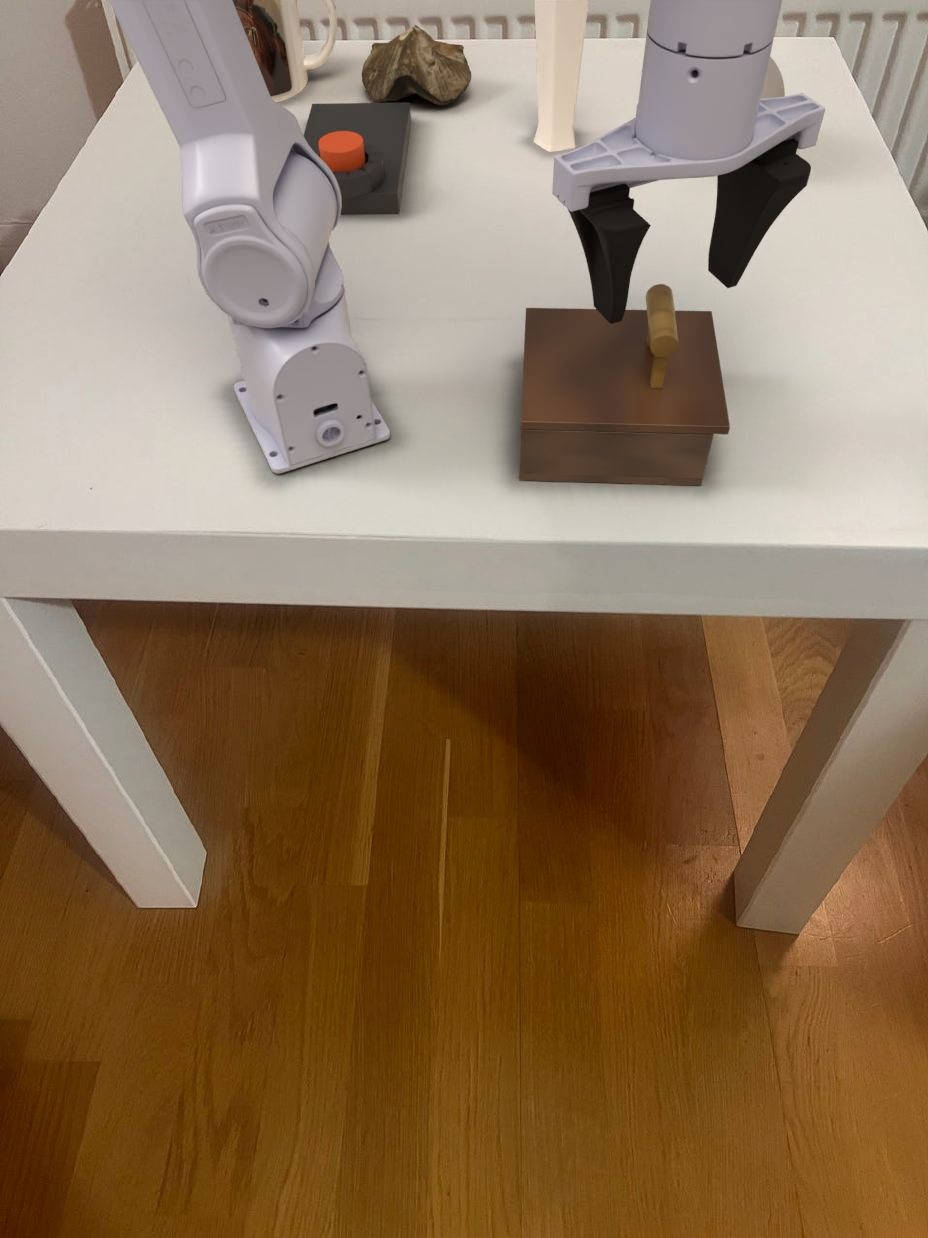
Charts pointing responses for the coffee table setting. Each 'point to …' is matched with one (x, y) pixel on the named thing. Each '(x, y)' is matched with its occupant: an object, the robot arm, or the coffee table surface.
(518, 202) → the coffee table surface
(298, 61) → the mug
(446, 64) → the fossilized seashell
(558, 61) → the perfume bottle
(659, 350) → the case lid
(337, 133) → the button
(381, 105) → the control box
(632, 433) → the wooden case
